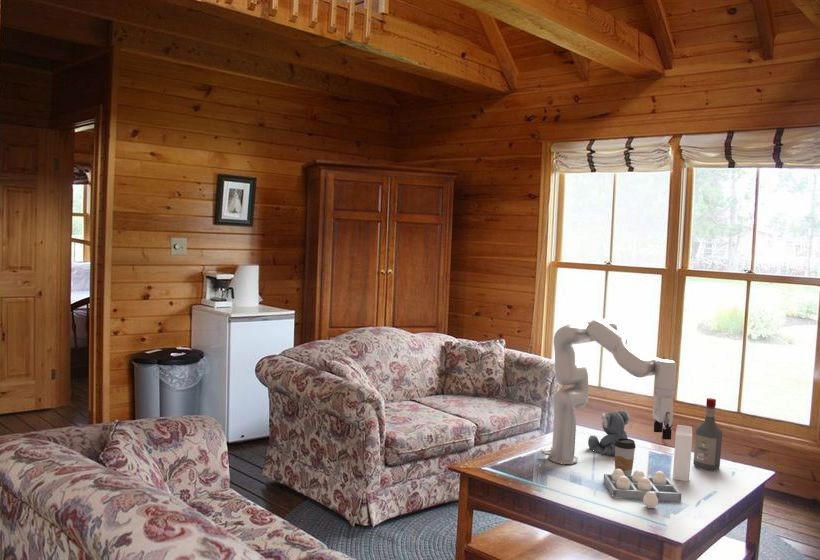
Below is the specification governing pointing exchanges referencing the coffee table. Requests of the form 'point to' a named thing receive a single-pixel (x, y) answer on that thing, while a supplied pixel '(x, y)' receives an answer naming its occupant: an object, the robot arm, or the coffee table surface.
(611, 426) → the koala plush
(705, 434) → the liquor
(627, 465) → the coffee cup
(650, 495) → the egg
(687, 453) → the milk
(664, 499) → the carton
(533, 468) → the coffee table surface
